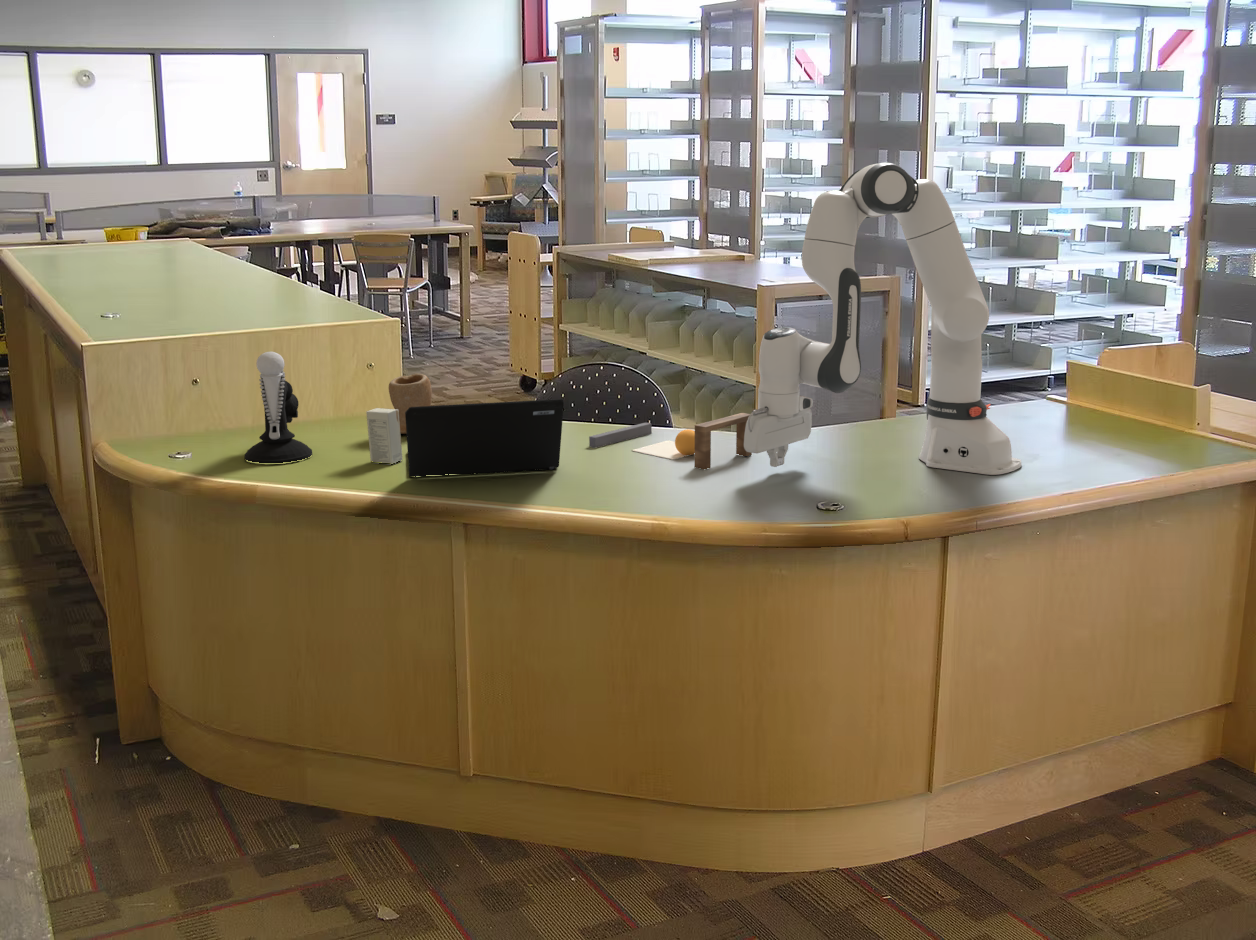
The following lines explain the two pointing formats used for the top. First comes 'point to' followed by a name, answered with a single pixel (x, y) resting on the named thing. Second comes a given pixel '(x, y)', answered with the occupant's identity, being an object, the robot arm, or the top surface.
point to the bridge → (705, 438)
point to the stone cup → (409, 394)
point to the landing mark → (661, 450)
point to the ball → (685, 442)
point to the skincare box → (384, 435)
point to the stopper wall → (620, 435)
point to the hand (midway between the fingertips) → (777, 465)
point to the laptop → (484, 437)
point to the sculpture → (277, 415)
